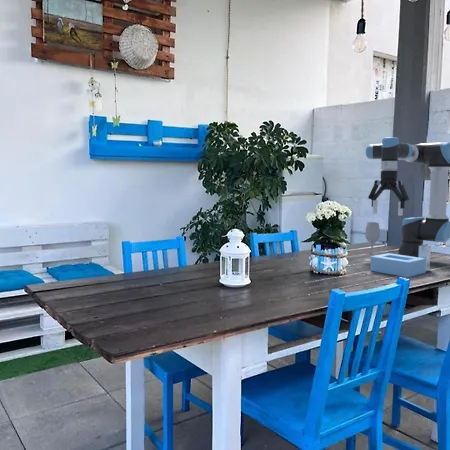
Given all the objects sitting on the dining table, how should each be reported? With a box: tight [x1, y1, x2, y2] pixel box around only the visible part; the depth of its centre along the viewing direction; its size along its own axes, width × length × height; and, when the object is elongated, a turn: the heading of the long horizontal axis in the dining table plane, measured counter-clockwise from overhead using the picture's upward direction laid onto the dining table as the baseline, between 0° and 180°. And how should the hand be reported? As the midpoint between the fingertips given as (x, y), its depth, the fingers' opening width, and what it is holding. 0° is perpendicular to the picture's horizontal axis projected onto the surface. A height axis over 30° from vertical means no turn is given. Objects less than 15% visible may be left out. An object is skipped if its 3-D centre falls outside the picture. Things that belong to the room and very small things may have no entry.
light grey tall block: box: [418, 243, 432, 272], centre depth 233 cm, size 4×4×13 cm
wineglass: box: [364, 221, 381, 263], centre depth 258 cm, size 8×8×21 cm
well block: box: [369, 252, 426, 278], centre depth 229 cm, size 16×20×7 cm
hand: (387, 214), depth 226 cm, fingers open, 13 cm apart
